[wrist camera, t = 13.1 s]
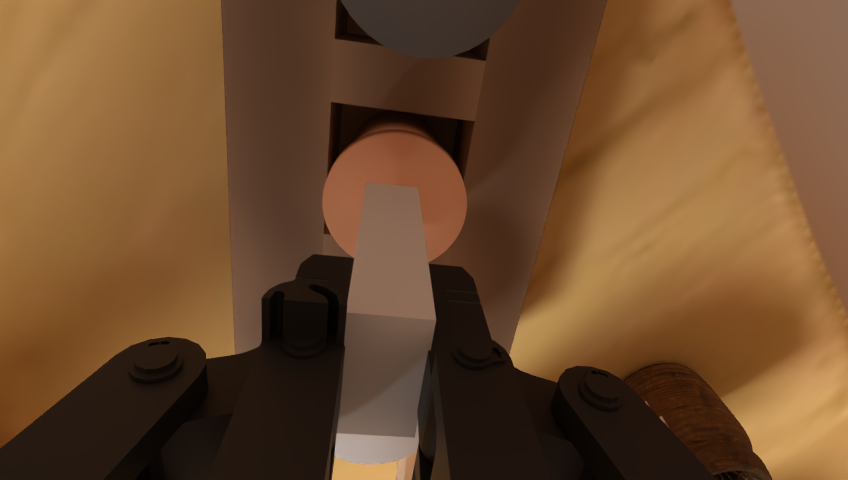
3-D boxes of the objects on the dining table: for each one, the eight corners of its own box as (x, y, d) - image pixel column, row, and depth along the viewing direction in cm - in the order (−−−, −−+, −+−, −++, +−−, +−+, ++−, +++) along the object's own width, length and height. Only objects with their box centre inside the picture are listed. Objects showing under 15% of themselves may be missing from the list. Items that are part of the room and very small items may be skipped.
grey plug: (324, 351, 22) (301, 460, 17) (330, 267, 20) (306, 360, 15) (421, 359, 23) (428, 467, 18) (435, 277, 21) (448, 371, 16)
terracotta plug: (339, 198, 21) (319, 262, 16) (346, 92, 19) (326, 125, 14) (440, 209, 22) (454, 275, 16) (457, 107, 20) (479, 145, 14)
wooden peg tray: (264, 326, 26) (236, 393, 22) (261, -185, 17) (211, -256, 12) (478, 344, 27) (493, 411, 23) (588, -122, 18) (652, -164, 13)
